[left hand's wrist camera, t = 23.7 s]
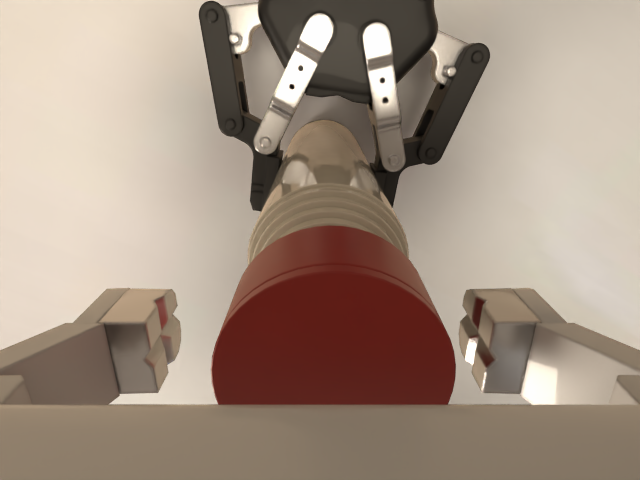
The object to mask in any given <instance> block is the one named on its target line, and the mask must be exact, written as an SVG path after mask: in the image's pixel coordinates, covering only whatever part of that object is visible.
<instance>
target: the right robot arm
mask: <svg viewBox="0 0 640 480" xmlns="http://www.w3.org/2000/svg"><path fill="white" fill-rule="evenodd" d="M199 19H200V25H201V30H202V36H203V42H204V47H205V53H206V58H207V64H208V69H209V75H210V80H211V86H212V92H213V97H214V103H215V108H216V114H217V119H218V125H219V128H220V130H221V132H222V133H223V134H225V135H227V136H230V137H235V138H237V139H239V140H241V141H243V142H245V143H246V144H248V145H249V146H250V148H251V149H252V151H253V156H254V159H253V171H252V184H251V196H250V202H251V205H252V208H253V210H256V211H261V210H262V208H263V206H264V203H265V201H266V199H267V196H268V194H269V191H270V189H271V187H272V184H273V182H274V180H275V177H276V175H277V173H278V170H279V168H280V165H281V163H282V158H283V150H280V141H281V139H282V137H283V135H284V133H285V131H286V129H287V127H288V125H289V123H290V121H291V119H292V117H293V115H294V113H295V111H296V109H297V107H298V105H299V103H300V101H301V99H302V97H303V95H304V93H306V95H309V96H316V97H327V96H335V95H339V96H341V97H344V98H346V99H348V100H350V101H353V102H358V103H365V104H367V109H368V114H369V119H370V122H371V127H372V132H373V138H374V144H375V150H376V157H375V162H374V163H370V167H371V169H372V171H373V173H374V175H375V177H376V178H377V180H378V182H379V184H380V186H381V188H382V190H383V192H384V194H385V195H386V197H387V199H388V201H389V203H390V205H391V207H392V208H393V202H394V198H395V193H396V188H397V184H398V179H399V176H400V174H401V172H402V171H403V170H404V169H405V168H407V167H409V166H413V165H418V164H422V163H425V164H428V165H432V164H435V163H437V162H438V161H439V160H440V159H441V157H442V155H443V153H444V151H445V149H446V147H447V145H448V143H449V141H450V139H451V137H452V135H453V133H454V131H455V129H456V127H457V125H458V123H459V121H460V118H461V116H462V114H463V112H464V110H465V108H466V106H467V104H468V102H469V100H470V98H471V96H472V94H473V92H474V90H475V88H476V86H477V84H478V82H479V80H480V78H481V76H482V74H483V72H484V70H485V68H486V66H487V64H488V62H489V58H490V52H489V49H488V48H487V46H486V45H484V44H482V43H472V44H468V43H465V42H463V41H461V40H458V39H456V38H454V37H452V36H450V35H447V34H445V33H443V32H441V31H438V22H437V19H436V15H435V10H434V0H259V2H257V3H248V4H239V5H230V6H222V5H220V4H219V3H217V2H215V1H207V2H205V3H204V4H203V5H202V6H201V8H200V10H199ZM261 26H262V27H263V29H264V30H265V32H266V34H267V36H268V38H269V40H270V42H271V44H272V46H273V48H274V50H275V51H276V53H277V55H278V57H279V59H280V61H281V63H282V65H283V67H284V69H285V72H284V74H283V76H282V78H281V80H280V82H279V84H278V87H277V89H276V91H275V93H274V95H273V97H272V99H271V102H270V105H269V107H268V109H267V112H266V114H265V116H264V118H263V120H261V119H259V118H257V117H255V116H253V115H251V114H249V107H248V100H247V94H246V87H245V81H244V74H243V68H242V61H241V54H245V53H247V52H248V51H249V50H250V48H251V46H252V36H253V33H254V31H255V30H256V29H257V28H259V27H261ZM427 52H428V53H429V54H430V55H431V57H432V68H431V78H432V79H433V81H434V82H436V83H437V85H436V87H435V89H434V91H433V94H432V96H431V98H430V100H429V102H428V104H427V107H426V109H425V111H424V113H423V115H422V117H421V120H420V122H419V124H418V126H417V128H416V131H415V133H414V135H413V137H410V138H406V139H403V137H402V131H401V112H400V106H399V99H398V92H397V85H396V84H397V83H398V82H399V81H400V80H401V79H402V78H403V77H404V76H405V75H406V74H407V73H408V72H409V70H410V69H411V68H412V67H413V66H414V65H415V64H416V63H417V62H418V61H419V60H420V59H421V58H422V57H423V56H424V55H425V54H426V53H427ZM294 85H295V87H294Z"/></svg>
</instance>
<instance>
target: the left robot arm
mask: <svg viewBox="0 0 640 480" xmlns="http://www.w3.org/2000/svg"><path fill="white" fill-rule="evenodd" d="M176 307H177V300H176V295H175V293H174V291H173V290H172V289H133V288H132V289H130V288H112V289H106V290H105V291H104V292H103V293H102V294H101V295H100V296H99V297H98V298H97V299H96V300H95V301H94V302H93V303H92V304H91V305H90V306H89V307H88V308H87V309H86V310H85V311H84V312H83V313H82V314H81V315H80V316H79V317H78V318H77V319H76V320H75V321H74V322H73V323H65V324H63V325H60V326H58V327H55V328H53V329H51V330H48V331H46V332H43V333H41V334H39V335H36V336H34V337H31V338H29V339H27V340H24V341H22V342H19V343H17V344H15V345H12V346H10V347H7V348H5V349H3V350H0V480H640V350H637V349H635V348H632V347H630V346H628V345H625V344H623V343H621V342H618V341H616V340H613V339H611V338H609V337H606V336H604V335H601V334H599V333H597V332H594V331H592V330H589V329H587V328H585V327H582V326H580V325H577V324H575V323H567V322H566V321H565V320H564V319H563V318H562V317H561V316H560V315H559V314H558V313H557V312H556V311H555V310H554V309H553V308H552V307H551V306H550V305H549V304H548V303H547V302H546V301H545V300H544V299H543V298H542V297H541V296H540V295H539V294H538V293H537V292H536V291H535V290H534V289H531V288H516V289H511V288H503V289H470V290H466V293H465V295H464V299H463V307H464V309H465V311H466V313H467V315H466V316H465V317H464V318H463V319H462V320H461V321H460V328H459V343H460V348H461V352H462V354H463V356H464V358H465V360H466V361H468V362H469V363H471V364H472V365H473V367H472V374H473V376H474V378H475V380H476V382H477V384H478V386H479V388H480V390H481V392H482V393H510V394H520V396H522V397H523V398H524V399H526V400H527V401H528V402H529V403H531V404H532V405H108V404H109V403H111V402H112V401H113V400H115V399H116V398H117V397H119V396H120V395H119V394H130V393H158V392H159V390H160V388H161V386H162V384H163V382H164V380H165V378H166V376H167V374H168V367H167V365H168V364H169V363H171V362H172V361H174V360H175V358H176V356H177V354H178V352H179V347H180V343H181V327H180V321H179V320H178V319H177V318H176V317H175V316H174V315H173V313H174V311H175V309H176Z"/></svg>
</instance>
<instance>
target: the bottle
mask: <svg viewBox="0 0 640 480" xmlns="http://www.w3.org/2000/svg"><path fill="white" fill-rule="evenodd" d="M328 225H330V226H346V227H352V228H357V229H360V230H364V231H367V232H370V233H372V234H375V235H377V236H379V237H381V238H383V239H385V240H386V241H388V242H389V243H391V244H393V245H394V246H395V247H396V248H398V249H399V250H400V251H401V252H402V253H403V254H404V255H405V256H406V257H407V258H408V259H409V252H408V244H407V239H406V235H405V233H404V230H403V228H402V226H401V224H400V222H399V220H398V218H397V216H396V214H395V212H394V210H393V209H392V207H391V205H390V203H389V201H388V199H387V197H386V195H385V194H384V192H383V190H382V188H381V186H380V184H379V182H378V180H377V178H376V177H375V175H374V173H373V171H372V169H371V167H370V165H369V163H368V162H367V160H366V158H365V156H364V154H363V152H362V150H361V148H360V146H359V145H358V143H357V141H356V139H355V137H354V136H353V134H352V133H351V132H350V131H349V130H348V129H347V128H346V127H344V126H343V125H341V124H339V123H337V122H334V121H330V120H318V121H313V122H310V123H308V124H306V125H305V126H303V127H302V128H301V129H299V130H298V131H297V132H296V134H295V135H294V136H293V138H292V140H291V142H290V144H289V147H288V149H287V151H286V154H285V156H284V158H283V161H282V163H281V165H280V168H279V170H278V173H277V175H276V177H275V180H274V182H273V184H272V187H271V189H270V191H269V194H268V196H267V199H266V201H265V203H264V206H263V208H262V210H261V213H260V215H259V217H258V220H257V222H256V224H255V227H254V229H253V232H252V235H251V238H250V241H249V247H248V266H249V264H250V263H251V262H252V261H253V259H254V258H255V257H256V256H257V255H258V254H259V253H260V252H261V251H262V250H264V249H265V248H266V247H267V246H269V245H270V244H272V243H273V242H275V241H276V240H278V239H280V238H282V237H284V236H286V235H288V234H290V233H293V232H296V231H299V230H302V229H306V228H311V227H317V226H328Z"/></svg>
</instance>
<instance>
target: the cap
mask: <svg viewBox="0 0 640 480" xmlns="http://www.w3.org/2000/svg"><path fill="white" fill-rule="evenodd" d="M455 370H456V364H455V356H454V350H453V347H452V343H451V340H450V338H449V336H448V333H447V331H446V329H445V327H444V325H443V323H442V321H441V319H440V317H439V315H438V313H437V311H436V309H435V307H434V305H433V303H432V301H431V299H430V297H429V294H428V292H427V290H426V288H425V286H424V284H423V282H422V280H421V278H420V276H419V274H418V272H417V270H416V269H415V267H414V266H413V264H412V263H411V261H410V260H409V259H408V258H407V257H406V256H405V255H404V254H403V253H402V252H401V251H400V250H399V249H398V248H396V247H395V246H394V245H393V244H391V243H389V242H388V241H386V240H385V239H383V238H381V237H379V236H377V235H375V234H372V233H370V232H367V231H364V230H360V229H357V228H352V227H346V226H330V225H328V226H317V227H311V228H306V229H302V230H299V231H296V232H293V233H290V234H288V235H286V236H284V237H282V238H280V239H278V240H276V241H275V242H273V243H272V244H270V245H269V246H267V247H266V248H265V249H264V250H262V251H261V252H260V253H259V254H258V255H257V256H256V257H255V258H254V259H253V261H252V262H251V263H250V264H249V266H248V267H247V269H246V270H245V272H244V273H243V275H242V277H241V280H240V282H239V284H238V287H237V289H236V292H235V295H234V297H233V300H232V302H231V305H230V308H229V310H228V313H227V315H226V318H225V321H224V323H223V326H222V328H221V331H220V334H219V336H218V339H217V341H216V344H215V348H214V352H213V355H212V364H211V378H212V386H213V390H214V394H215V397H216V400H217V402H218V405H448V402H449V400H450V397H451V394H452V392H453V387H454V382H455Z"/></svg>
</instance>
